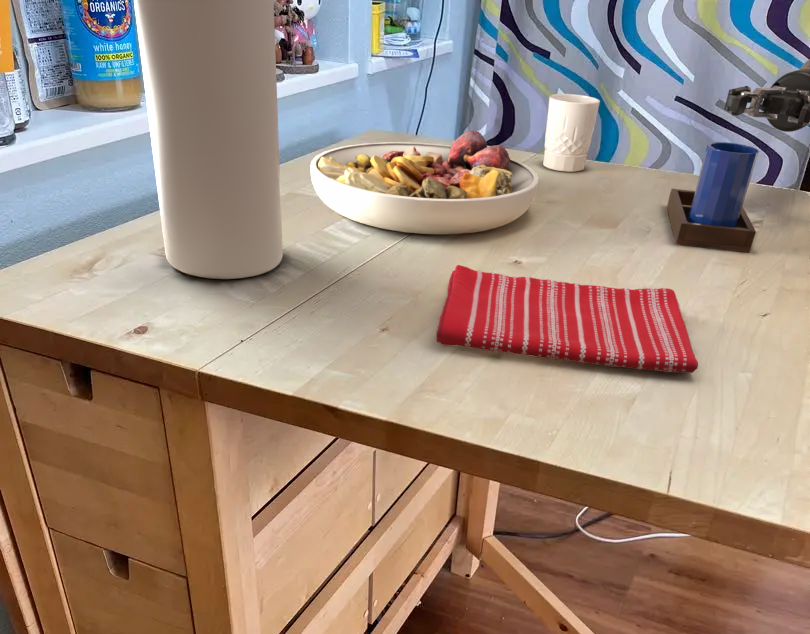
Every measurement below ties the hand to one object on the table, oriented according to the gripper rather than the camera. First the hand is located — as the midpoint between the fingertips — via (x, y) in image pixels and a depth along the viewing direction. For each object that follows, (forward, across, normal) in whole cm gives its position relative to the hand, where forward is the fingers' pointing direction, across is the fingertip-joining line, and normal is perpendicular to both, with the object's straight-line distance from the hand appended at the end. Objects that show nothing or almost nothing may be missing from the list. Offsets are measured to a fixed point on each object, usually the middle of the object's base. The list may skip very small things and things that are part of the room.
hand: (768, 111), depth 104 cm
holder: (+7, -2, +14) cm, 16 cm away
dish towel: (+52, -1, +14) cm, 54 cm away
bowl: (+28, -34, +14) cm, 46 cm away
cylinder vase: (+61, -38, +14) cm, 73 cm away
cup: (+11, 0, +13) cm, 17 cm away
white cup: (-9, -32, +14) cm, 35 cm away
